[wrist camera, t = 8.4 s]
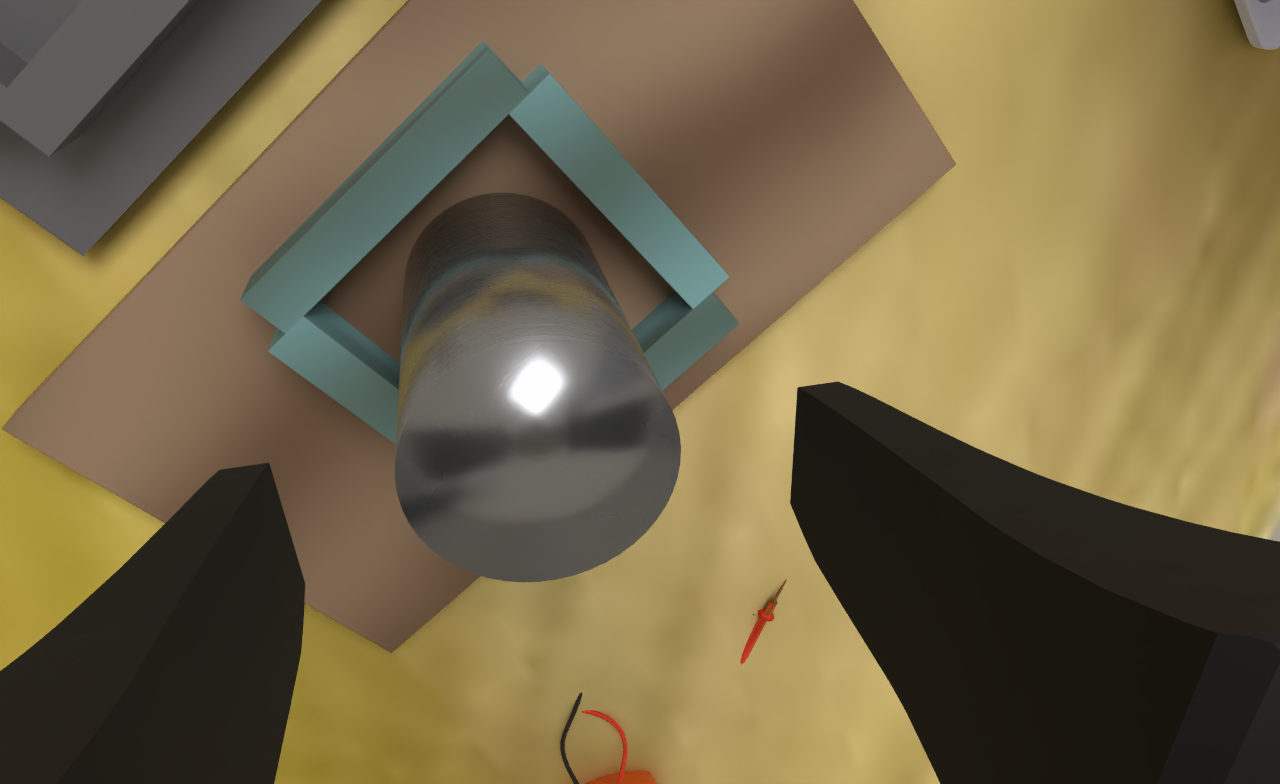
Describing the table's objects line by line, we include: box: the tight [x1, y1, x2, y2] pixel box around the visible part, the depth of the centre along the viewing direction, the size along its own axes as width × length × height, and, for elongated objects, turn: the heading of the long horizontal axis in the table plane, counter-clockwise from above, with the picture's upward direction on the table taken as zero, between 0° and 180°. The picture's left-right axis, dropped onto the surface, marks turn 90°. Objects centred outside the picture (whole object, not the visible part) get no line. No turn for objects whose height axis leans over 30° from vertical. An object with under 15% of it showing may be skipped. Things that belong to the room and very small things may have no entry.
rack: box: [2, 0, 956, 653], centre depth 18 cm, size 10×18×2 cm, turn 130°
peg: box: [395, 193, 681, 582], centre depth 15 cm, size 4×4×7 cm
